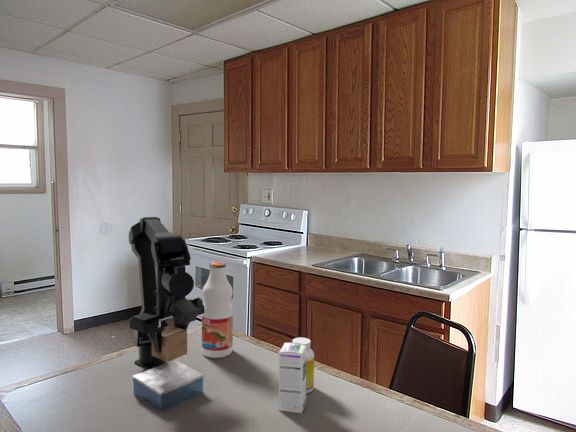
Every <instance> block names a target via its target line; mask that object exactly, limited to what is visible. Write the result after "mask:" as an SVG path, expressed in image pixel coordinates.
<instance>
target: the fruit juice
mask: <svg viewBox="0 0 576 432" xmlns="http://www.w3.org/2000/svg"><path fill="white" fill-rule="evenodd" d="M226 266H227V264H226V261H225V262H224V261H211V262H210V263H209V269H210V271H209V276H208V278H207V280H206V282H205V284H204V285H203V287H202V292H201V293H202V294H201V295H202V300H203V305H204V313H203V314H201V352H202V355H203V356H205V357H207V358H209V359H210V358H211V359H218V358H219V359H221V358H225V357H228V356H230V355H231V354H232V352H233V345H234V344H233V343H234V342H233V338H234V334H233V332H234V329H233V328H234V308H233V303H232V296H233V287H232V285H231V283H230V282H229V280H228V278H227V275H226V274H227V273H226V268H227V267H226Z"/></svg>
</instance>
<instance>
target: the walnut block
mask: <svg viewBox="0 0 576 432" xmlns="http://www.w3.org/2000/svg"><path fill="white" fill-rule="evenodd" d="M164 328H165V329H164V331H163V332H162V347H161V353H157V351H156V349H155V348H154V346H153V344H152V356H154V357H157V358H159V359H162V360H164V361H166V363H168V362H171V361H174V360H176V359H178V358H180V357H182V356H185V355H188V330H184V329H181V328H178V327H175V326H174V325H169V326H167V327H164Z"/></svg>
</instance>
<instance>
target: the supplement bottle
mask: <svg viewBox="0 0 576 432" xmlns="http://www.w3.org/2000/svg"><path fill="white" fill-rule="evenodd" d="M291 343H300V344H305V345H307V370H306V395H307V394H309V393H311V392H312V391H313V390H314V386H315V381H314V380H315V352H314V351H313V350H312V348H311V344H312V341H311V340H310V338H307V337H302V336H301V337H295V338H292V341H291Z"/></svg>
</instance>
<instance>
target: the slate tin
mask: <svg viewBox="0 0 576 432" xmlns="http://www.w3.org/2000/svg"><path fill="white" fill-rule="evenodd" d="M204 377H205V374H203V373H202V372H200V371H198V370H196V369H194V368H192V367H190V366H187V365H186V364H184V363H182V362H180V361H178V360H176V359H174V360H171V361H169V362H166V363H165V362H164V363H162V364H159V365H156V366H154V367H151V368H149V369H146V370H145V371H142V372H139V373H136V374H133V375H132V376H131V379H132V380H133V395H135V396H136V397H138V398H140V400H143V401H144V402H145V403H147V404H148V405H150V406H151V407H153V408H154V409H156V410H158V411H159V412H160V413H162V412H163V411H166V410H168V409H171V408H173V407H174V406H177V405H178V404H181V403H183V402H185V401H188V400H189V399H192V398H194V397H196V396H199V395H201V394H203V392H204V389H203V388H204Z"/></svg>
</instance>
